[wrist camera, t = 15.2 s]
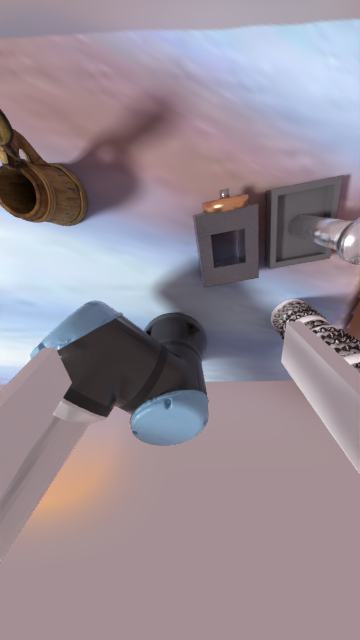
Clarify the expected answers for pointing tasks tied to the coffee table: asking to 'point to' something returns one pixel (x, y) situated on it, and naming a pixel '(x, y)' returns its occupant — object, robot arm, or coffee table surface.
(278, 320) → the decorative candle
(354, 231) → the lock pin
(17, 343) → the coffee table surface
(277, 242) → the tray
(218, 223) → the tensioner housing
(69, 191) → the wooden mug
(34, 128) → the coffee table surface
